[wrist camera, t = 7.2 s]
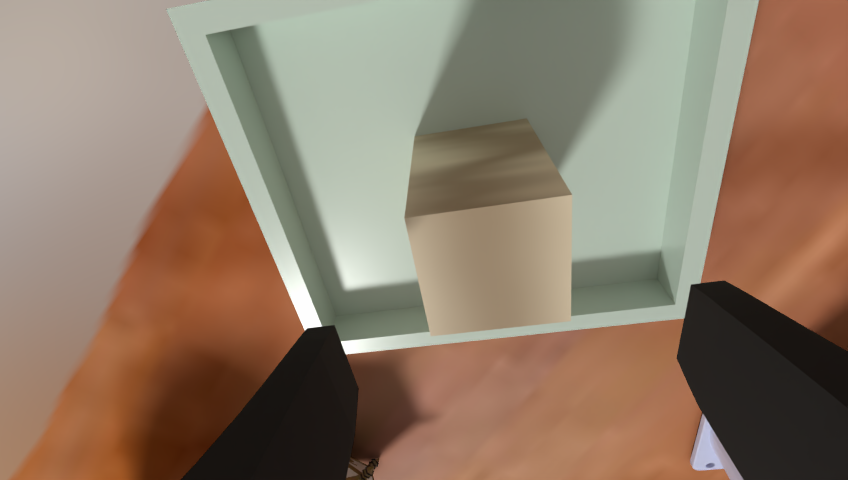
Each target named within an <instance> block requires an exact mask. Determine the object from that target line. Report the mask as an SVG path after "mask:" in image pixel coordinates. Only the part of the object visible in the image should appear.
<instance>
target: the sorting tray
mask: <svg viewBox="0 0 848 480" xmlns="http://www.w3.org/2000/svg"><path fill="white" fill-rule="evenodd" d="M758 2H759V0H208V1H203V2H198V3H193V4H189V5H184V6H179V7H174V8H169V9H167V12H168V14H169V17H170V19H171V21H172V24H173V26H174V28H175V31H176V33H177V35H178V38H179V40H180V42H181V45H182V47H183V49H184V52H185V54H186V56H187V58H188V61H189V63H190V65H191V68H192V70H193V72H194V75H195V77H196V79H197V82H198V84H199V86H200V88H201V91H202V93H203V96H204V98H205V100H206V103H207V105H208V107H209V109H210V112H211V114H212V116H213V119H214V121H215V123H216V126H217V128H218V130H219V133H220V135H221V137H222V140H223V142H224V144H225V147H226V149H227V151H228V154H229V156H230V158H231V160H232V163H233V165H234V167H235V170H236V172H237V174H238V177H239V179H240V181H241V184H242V186H243V188H244V191H245V193H246V195H247V198H248V200H249V202H250V205H251V207H252V209H253V211H254V214H255V216H256V218H257V221H258V223H259V225H260V228H261V230H262V232H263V235H264V237H265V239H266V242H267V244H268V246H269V249H270V251H271V253H272V256H273V258H274V260H275V262H276V265H277V267H278V269H279V272H280V274H281V276H282V279H283V281H284V283H285V286H286V288H287V290H288V293H289V295H290V297H291V300H292V302H293V304H294V307H295V309H296V311H297V313H298V316H299V318H300V320H301V323H302V325H303V327H304V330H306V329H307V328H313V327H321V326H330V325H335V328H336V330H337V333H338V336H339V338H340V341H341V344H342V346H343V349H344V351H345V354H354V353H363V352H373V351H382V350H391V349H401V348H410V347H419V346H429V345H438V344H448V343H457V342H466V341H476V340H485V339H494V338H504V337H513V336H523V335H532V334H541V333H551V332H560V331H569V330H579V329H588V328H598V327H607V326H616V325H626V324H635V323H644V322H654V321H663V320H672V319H682V318H685V313H686V307H687V302H688V297H689V292H690V287H691V284H699V283H700V282H701V277H702V273H703V268H704V263H705V258H706V253H707V248H708V244H709V239H710V234H711V229H712V224H713V219H714V215H715V210H716V205H717V200H718V195H719V191H720V186H721V181H722V176H723V171H724V166H725V162H726V157H727V152H728V147H729V142H730V137H731V133H732V128H733V123H734V118H735V113H736V108H737V104H738V99H739V94H740V89H741V84H742V79H743V75H744V70H745V65H746V60H747V55H748V50H749V46H750V41H751V36H752V31H753V26H754V21H755V17H756V12H757V7H758ZM526 118H527V120H528V121H529V123H530V125H531V126H532V128H533V130H534V131H535V133H536V135H537V136H538V138H539V140H540V141H541V143H542V145H543V147H544V148H545V150H546V152H547V153H548V155H549V157H550V158H551V160H552V162H553V163H554V165H555V167H556V168H557V170H558V172H559V173H560V175H561V177H562V178H563V180H564V182H565V183H566V185H567V187H568V188H569V190H570V192H571V194H572V268H571V321H568V322H559V323H550V324H540V325H531V326H522V327H513V328H503V329H494V330H485V331H476V332H466V333H457V334H448V335H439V336H431V335H430V331H429V326H428V322H427V317H426V313H425V309H424V304H423V300H422V295H421V291H420V286H419V282H418V277H417V273H416V268H415V264H414V259H413V255H412V250H411V246H410V241H409V237H408V232H407V228H406V224H405V219H404V217H405V209H406V200H407V192H408V184H409V176H410V168H411V160H412V152H413V144H414V136H420V135H426V134H432V133H439V132H445V131H451V130H457V129H464V128H470V127H476V126H482V125H489V124H495V123H501V122H507V121H514V120H520V119H526Z"/></svg>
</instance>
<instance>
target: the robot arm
mask: <svg viewBox="0 0 848 480" xmlns="http://www.w3.org/2000/svg"><path fill="white" fill-rule="evenodd" d="M677 360H678V362H679V364H680V367H681V369H682V371H683V373H684V376H685V378H686V380H687V383H688V385H689V387H690V389H691V391H692V393H693V395H694V397H695V400H696V402H697V404H698V406H699V408H700V409H701V411H702V413H703V414H702V418H701V422H700V425H699V429H698V433H697V437H696V441H695V444H694V448H693V452H692V456H691V460H690V463H691V465H692V467H693V468H694V469H695V470H712V469H724V470H725V471H726V473H727V475H728V477H729V478H730V480H848V351H846V350H844V349H842V348H841V347H839V346H837V345H835V344H833V343H832V342H830V341H828V340H826V339H825V338H823V337H821V336H820V335H818V334H816V333H814V332H813V331H811V330H809V329H807V328H806V327H804V326H802V325H801V324H799V323H797V322H796V321H794V320H792V319H790V318H789V317H787V316H785V315H784V314H782V313H780V312H778V311H777V310H775V309H773V308H772V307H770V306H768V305H767V304H765V303H763V302H761V301H760V300H758V299H756V298H755V297H753V296H751V295H749V294H748V293H746V292H744V291H742V290H741V289H739V288H737V287H735V286H733V285H731V284H730V283H728V282H726V281H717V282H708V283H699V284H691V287H690V292H689V297H688V302H687V307H686V313H685V318H684V323H683V328H682V333H681V338H680V344H679V349H678V354H677ZM357 402H358V386H357V383H356V381H355V378H354V375H353V373H352V370H351V367H350V365H349V362H348V359H347V357H346V354H345V351H344V349H343V346H342V344H341V341H340V338H339V336H338V333H337V330H336V328H335V325H330V326H321V327H313V328H307V329H306V330H305V332H304V333H303V334H302V335H301V336H300V338H299V339H298V340H297V342H296V343H295V344H294V345H293V347H292V348H291V349H290V350H289V352H288V353H287V354H286V356H285V357H284V358H283V359H282V361H281V362H280V363H279V364H278V366H277V367H276V368H275V370H274V371H273V372H272V373H271V375H270V376H269V377H268V379H267V380H266V381H265V382H264V384H263V385H262V386H261V387H260V389H259V390H258V391H257V392H256V394H255V395H254V396H253V397H252V398H251V400H250V401H249V402H248V403H247V405H246V406H245V407H244V408H243V410H242V411H241V412H240V413H239V414H238V416H237V417H236V418H235V419H234V420H233V422H232V423H231V424H230V425H229V426H228V427H227V428H226V430H225V431H224V432H223V433H222V434H221V435H220V436H219V438H218V439H217V440H216V441H215V442H214V443H213V444H212V446H211V447H210V448H209V449H208V450H207V451H206V452H205V454H204V455H203V456H202V457H201V458H200V459H199V461H198V462H197V463H196V464H195V465H194V466H193V467H192V468H191V469H190V470H189V471H188V472H187V474H186V475H185V476H184V477H183V478H182V479H181V480H346V476H347V471H348V466H349V461H350V456H351V451H352V446H353V441H354V436H355V426H356V415H357Z"/></svg>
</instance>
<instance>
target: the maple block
mask: <svg viewBox="0 0 848 480" xmlns="http://www.w3.org/2000/svg"><path fill="white" fill-rule="evenodd" d="M404 219H405V224H406V228H407V232H408V237H409V241H410V246H411V250H412V255H413V259H414V264H415V268H416V273H417V277H418V282H419V286H420V291H421V295H422V300H423V304H424V309H425V313H426V317H427V322H428V326H429V331H430V335H431V336H439V335H448V334H457V333H466V332H476V331H485V330H494V329H503V328H513V327H522V326H531V325H540V324H550V323H559V322H568V321H571V268H572V194H571V192H570V190H569V188H568V187H567V185H566V183H565V182H564V180H563V178H562V177H561V175H560V173H559V172H558V170H557V168H556V167H555V165H554V163H553V162H552V160H551V158H550V157H549V155H548V153H547V152H546V150H545V148H544V147H543V145H542V143H541V141H540V140H539V138H538V136H537V135H536V133H535V131H534V130H533V128H532V126H531V125H530V123H529V121H528V120H527V118H526V119H520V120H514V121H507V122H501V123H495V124H489V125H482V126H476V127H470V128H464V129H457V130H451V131H445V132H439V133H432V134H426V135H420V136H414V144H413V152H412V160H411V168H410V176H409V184H408V192H407V200H406V209H405V217H404Z"/></svg>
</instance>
